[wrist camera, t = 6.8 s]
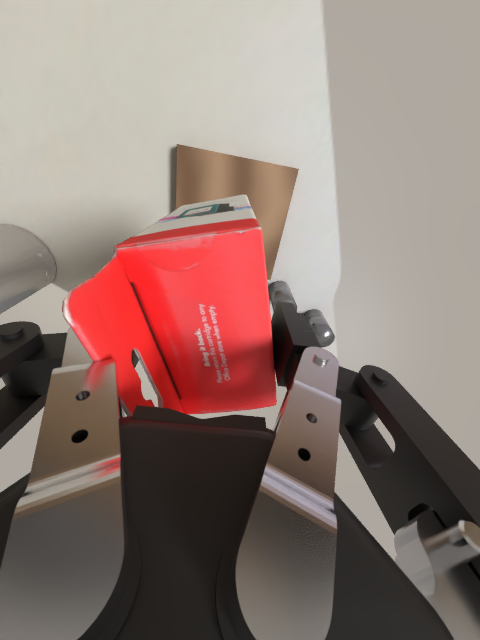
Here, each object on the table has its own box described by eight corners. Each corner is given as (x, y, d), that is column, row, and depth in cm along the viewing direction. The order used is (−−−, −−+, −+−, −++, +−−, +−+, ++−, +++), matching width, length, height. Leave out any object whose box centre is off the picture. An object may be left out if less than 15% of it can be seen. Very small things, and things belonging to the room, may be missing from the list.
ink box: (260, 297, 21) (293, 477, 9) (206, 304, 21) (166, 487, 9) (247, 190, 17) (282, 256, 4) (179, 202, 17) (28, 294, 5)
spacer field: (214, 357, 45) (211, 381, 40) (226, 272, 35) (224, 289, 30) (300, 367, 46) (308, 391, 41) (334, 289, 37) (349, 308, 32)
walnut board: (176, 262, 34) (174, 264, 33) (179, 144, 27) (177, 144, 26) (269, 276, 36) (270, 279, 35) (296, 169, 28) (298, 169, 27)
